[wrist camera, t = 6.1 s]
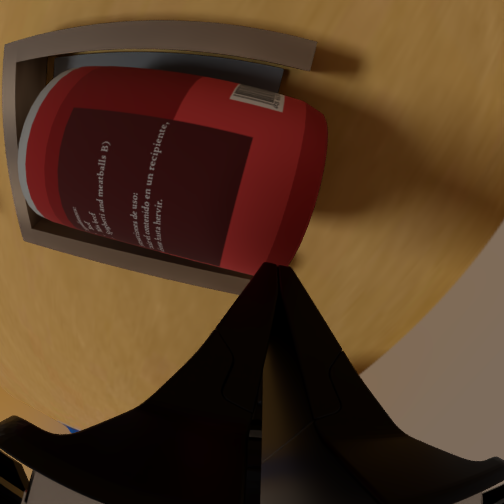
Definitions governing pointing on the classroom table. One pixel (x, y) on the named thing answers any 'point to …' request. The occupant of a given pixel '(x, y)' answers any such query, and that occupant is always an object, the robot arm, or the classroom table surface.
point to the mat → (181, 66)
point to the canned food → (175, 163)
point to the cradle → (127, 37)
